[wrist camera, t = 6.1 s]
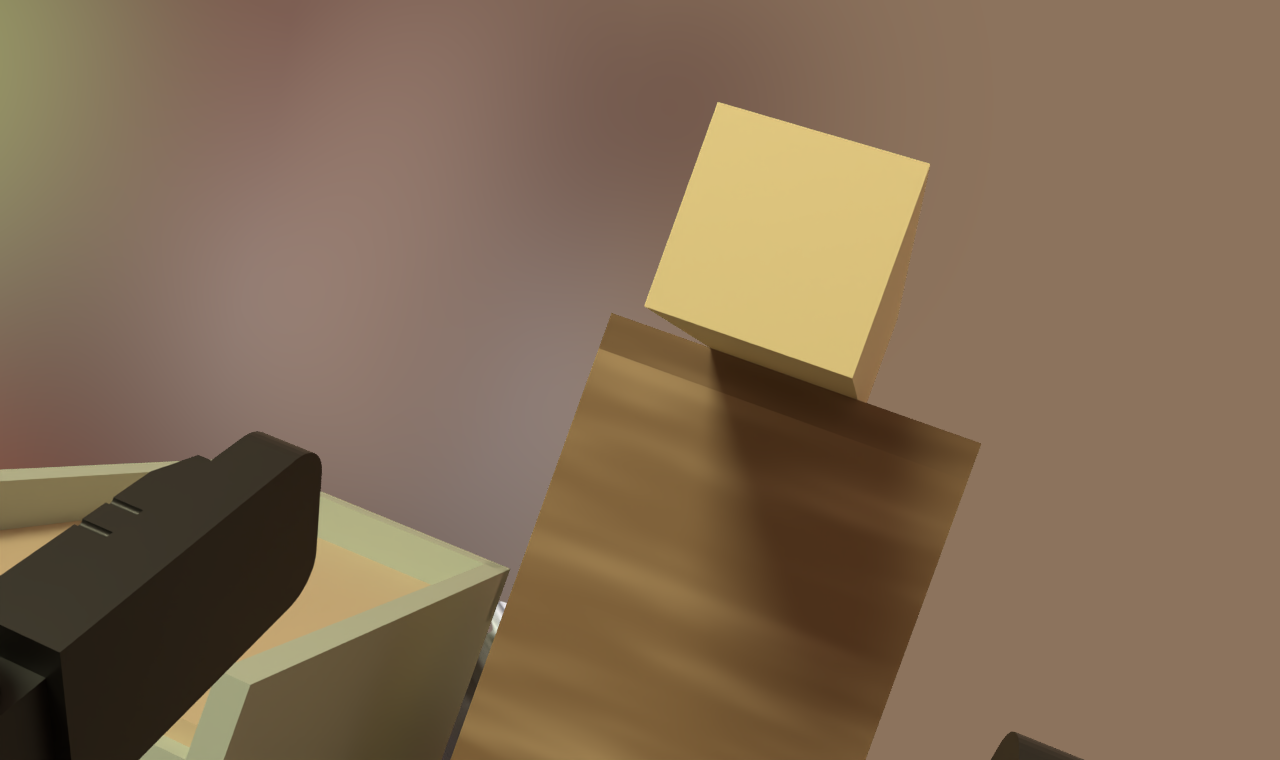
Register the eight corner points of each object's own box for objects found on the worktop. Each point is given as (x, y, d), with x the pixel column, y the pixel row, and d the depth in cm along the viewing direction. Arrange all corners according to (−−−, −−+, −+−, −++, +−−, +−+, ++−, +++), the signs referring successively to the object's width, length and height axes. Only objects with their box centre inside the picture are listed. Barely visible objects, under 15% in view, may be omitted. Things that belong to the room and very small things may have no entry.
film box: (852, 378, 18) (930, 164, 18) (644, 305, 19) (718, 101, 19) (862, 416, 39) (897, 318, 39) (763, 381, 40) (798, 286, 40)
